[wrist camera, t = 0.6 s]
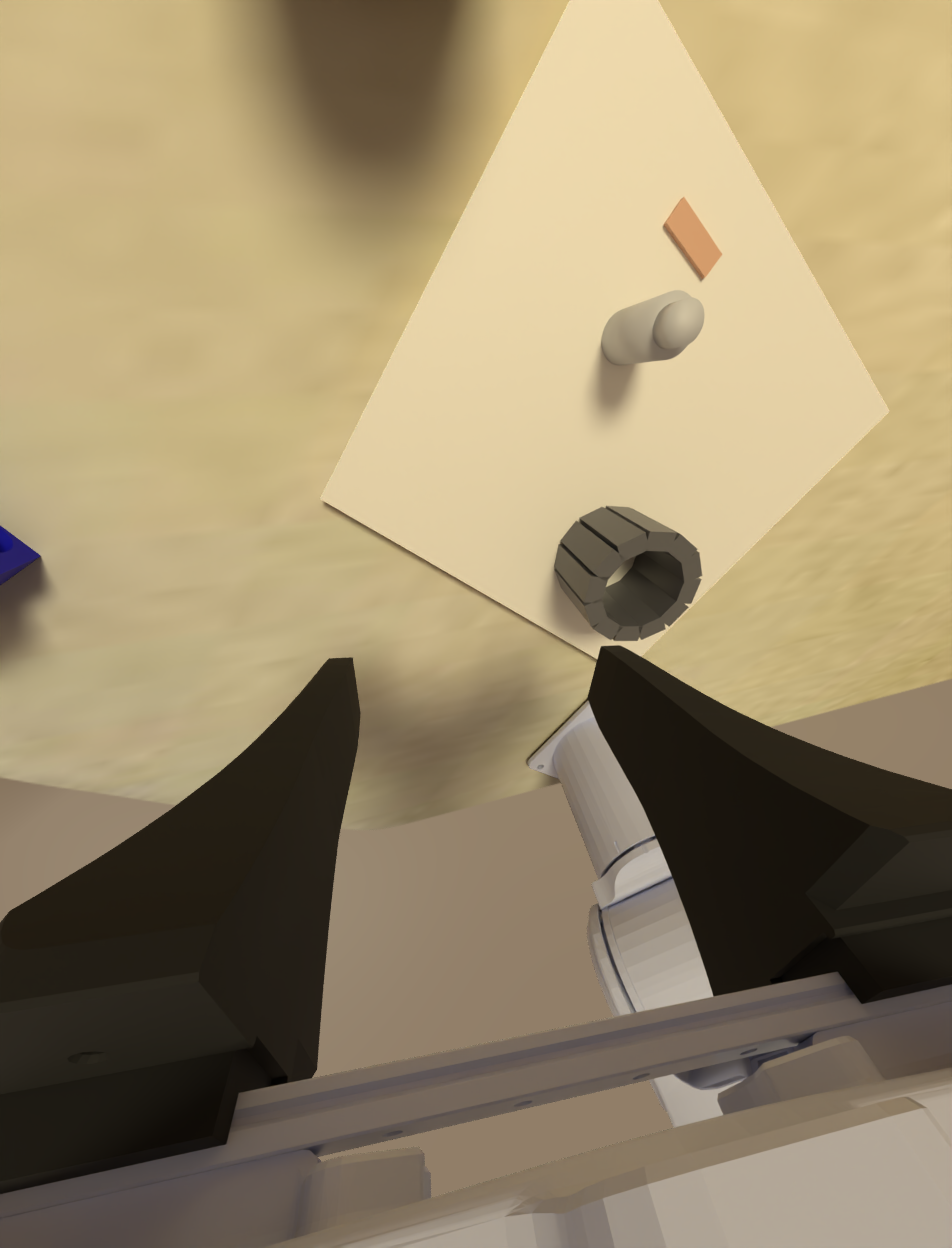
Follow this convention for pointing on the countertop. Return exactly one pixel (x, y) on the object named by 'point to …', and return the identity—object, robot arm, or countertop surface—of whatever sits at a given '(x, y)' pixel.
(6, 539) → the blue curved bracket
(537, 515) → the socket plate
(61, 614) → the countertop surface
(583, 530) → the grey grooved ring
